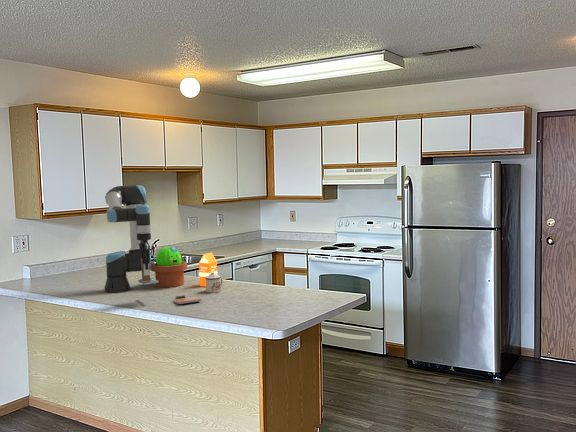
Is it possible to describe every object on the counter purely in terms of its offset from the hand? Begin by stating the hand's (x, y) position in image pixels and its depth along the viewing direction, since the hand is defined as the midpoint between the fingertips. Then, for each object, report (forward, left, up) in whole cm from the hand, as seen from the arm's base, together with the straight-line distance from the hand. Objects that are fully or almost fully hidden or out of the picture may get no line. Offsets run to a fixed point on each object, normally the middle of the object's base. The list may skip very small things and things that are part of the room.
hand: (145, 274), depth 305 cm
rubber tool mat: (+5, 0, -15) cm, 16 cm away
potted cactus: (-36, +25, -15) cm, 46 cm away
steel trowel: (+4, 0, -3) cm, 5 cm away
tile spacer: (+7, +17, -15) cm, 24 cm away
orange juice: (-20, +45, -15) cm, 52 cm away
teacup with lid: (0, +41, -15) cm, 44 cm away
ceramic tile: (+18, +17, -13) cm, 28 cm away
